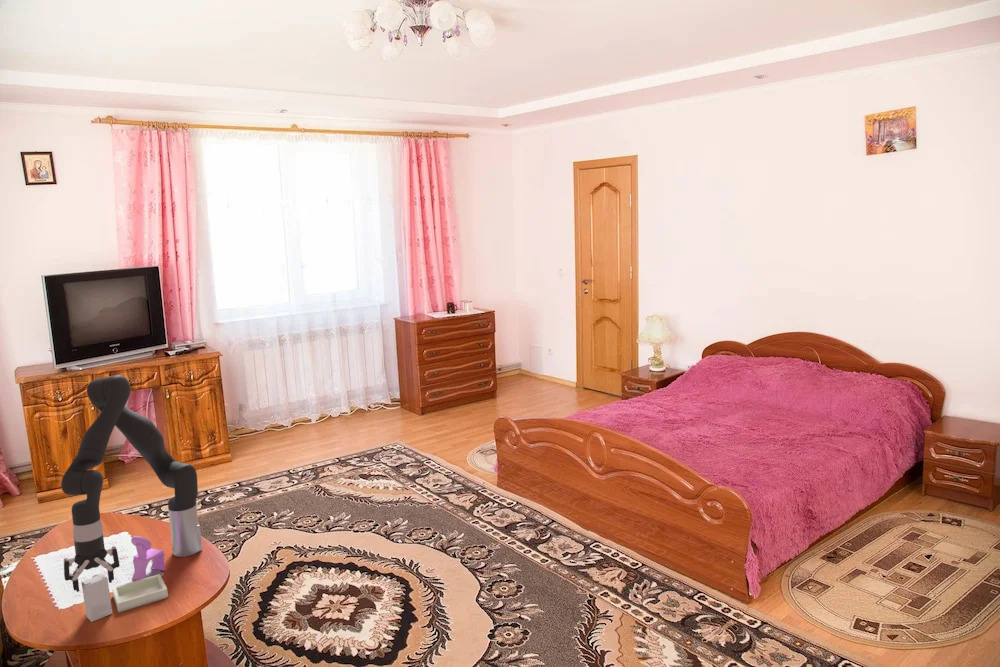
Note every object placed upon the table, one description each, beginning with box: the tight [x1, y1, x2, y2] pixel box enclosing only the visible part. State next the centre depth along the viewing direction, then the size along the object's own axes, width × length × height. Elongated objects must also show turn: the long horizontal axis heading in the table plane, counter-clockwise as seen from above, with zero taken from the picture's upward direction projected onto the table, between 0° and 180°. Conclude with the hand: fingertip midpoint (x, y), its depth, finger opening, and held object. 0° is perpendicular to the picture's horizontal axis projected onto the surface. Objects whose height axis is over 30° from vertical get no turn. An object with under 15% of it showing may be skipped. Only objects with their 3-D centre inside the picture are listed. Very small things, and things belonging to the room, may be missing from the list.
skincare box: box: [81, 573, 113, 623], centre depth 211 cm, size 6×4×12 cm
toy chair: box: [130, 535, 167, 581], centre depth 236 cm, size 8×9×15 cm
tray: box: [111, 573, 169, 613], centre depth 222 cm, size 14×12×3 cm
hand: (94, 586), depth 210 cm, fingers open, 8 cm apart
